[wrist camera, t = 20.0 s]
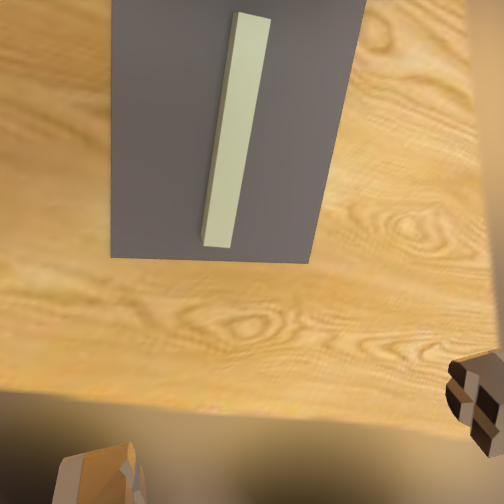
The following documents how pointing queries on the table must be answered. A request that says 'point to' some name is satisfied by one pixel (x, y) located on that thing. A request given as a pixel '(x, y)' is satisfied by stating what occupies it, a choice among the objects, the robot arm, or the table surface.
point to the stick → (234, 126)
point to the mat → (205, 122)
